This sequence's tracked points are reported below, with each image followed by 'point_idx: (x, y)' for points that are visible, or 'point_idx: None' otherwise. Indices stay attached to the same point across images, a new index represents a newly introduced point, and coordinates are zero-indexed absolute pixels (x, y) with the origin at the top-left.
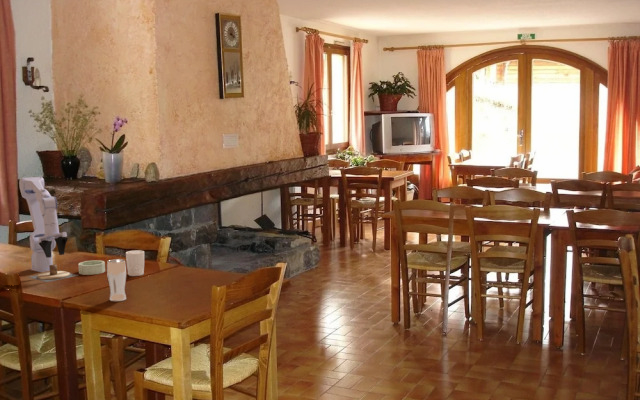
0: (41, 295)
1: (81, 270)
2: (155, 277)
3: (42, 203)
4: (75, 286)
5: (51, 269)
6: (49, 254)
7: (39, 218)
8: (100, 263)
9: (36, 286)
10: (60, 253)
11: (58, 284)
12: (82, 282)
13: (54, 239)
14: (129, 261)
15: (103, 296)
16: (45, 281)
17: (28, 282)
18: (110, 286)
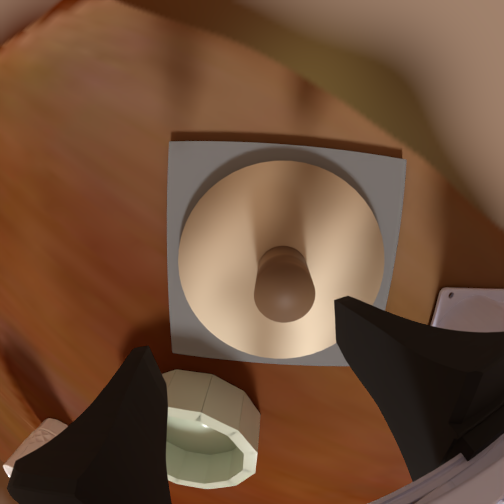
0: (26, 36)
1: (181, 387)
2: (11, 416)
3: None
4: (22, 205)
5: (271, 260)
6: (348, 344)
7: None
8: (193, 473)
9: (164, 67)
10: (129, 357)
11: (102, 173)
12: (57, 274)
13: (75, 480)
14: (25, 448)
15: None
16: (191, 143)
17: (304, 90)
18: None
